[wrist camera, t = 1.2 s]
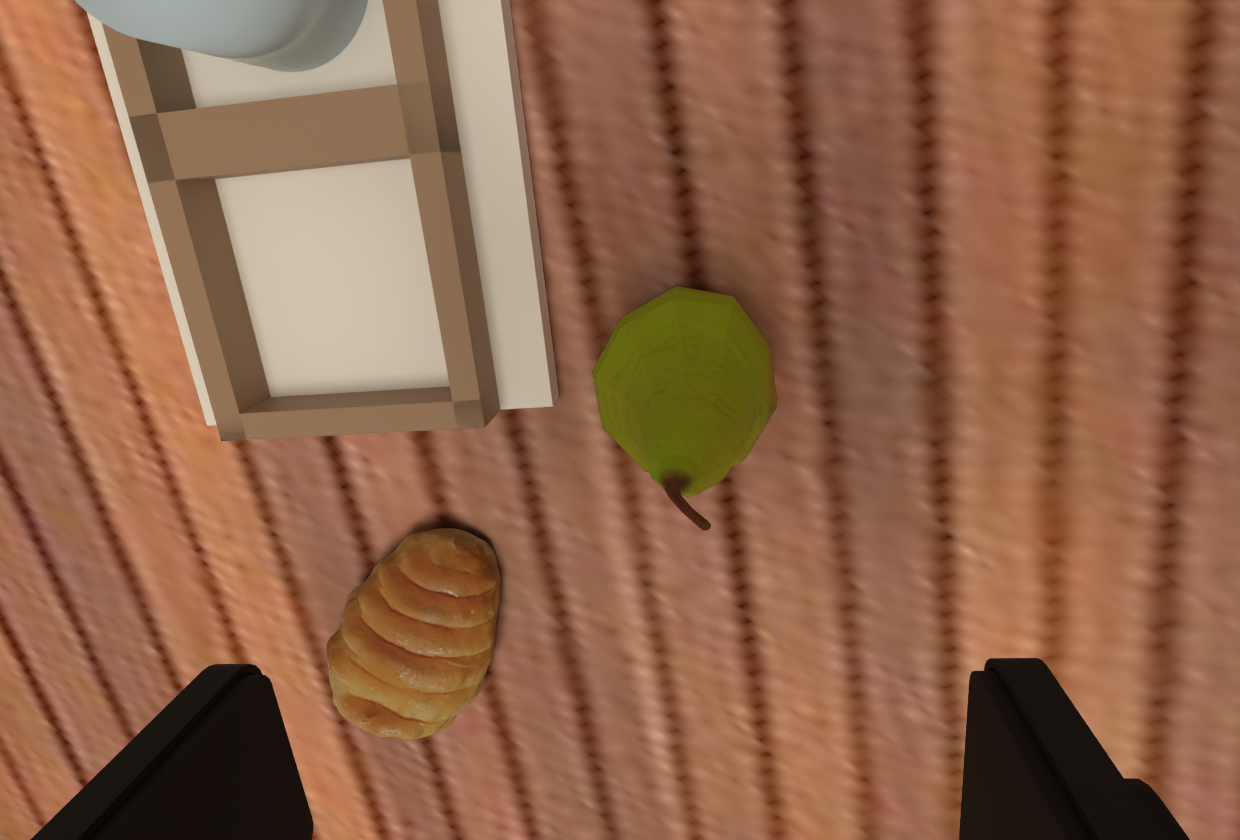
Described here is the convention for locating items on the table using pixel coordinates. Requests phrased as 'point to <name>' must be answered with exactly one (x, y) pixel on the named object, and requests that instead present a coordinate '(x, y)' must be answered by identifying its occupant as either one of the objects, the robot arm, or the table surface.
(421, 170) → the tray
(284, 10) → the pale blue rounded block
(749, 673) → the table surface
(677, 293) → the fruit
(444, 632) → the pastry
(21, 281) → the table surface
